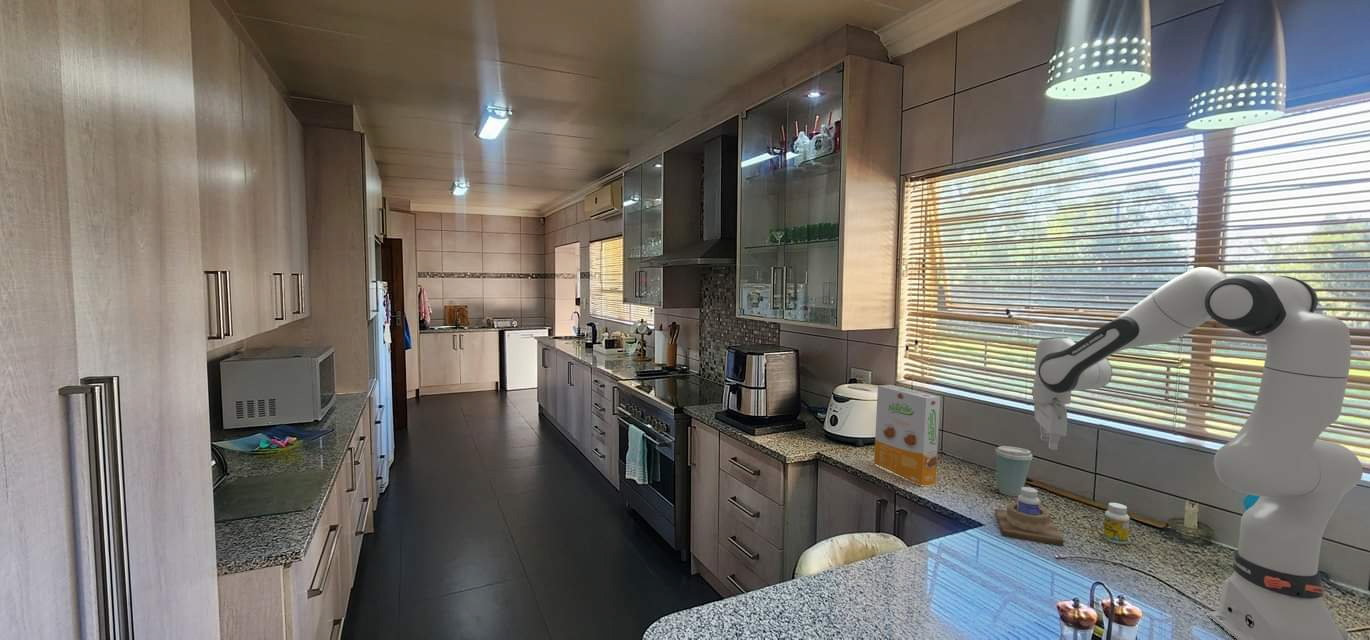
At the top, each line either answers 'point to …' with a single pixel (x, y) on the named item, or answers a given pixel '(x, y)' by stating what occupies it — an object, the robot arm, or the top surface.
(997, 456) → the disposable coffee cup
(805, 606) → the top surface
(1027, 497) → the pill bottle
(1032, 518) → the tan wooden ringed block
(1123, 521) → the supplement bottle
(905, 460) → the cereal box
